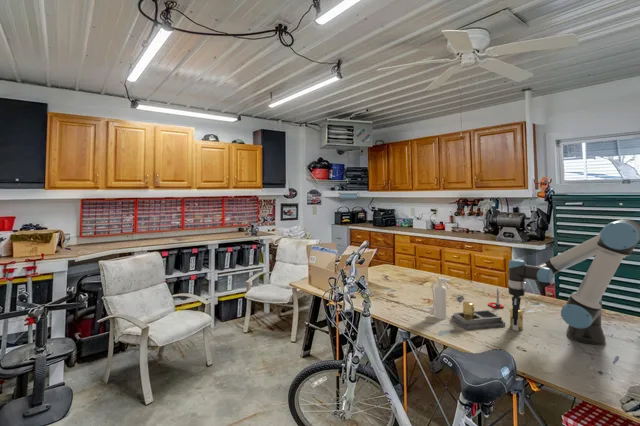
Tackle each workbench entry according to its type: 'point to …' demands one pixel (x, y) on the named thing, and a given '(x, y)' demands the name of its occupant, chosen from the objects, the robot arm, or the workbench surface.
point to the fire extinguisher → (439, 299)
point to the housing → (476, 318)
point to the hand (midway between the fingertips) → (516, 327)
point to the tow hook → (496, 303)
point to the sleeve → (520, 319)
